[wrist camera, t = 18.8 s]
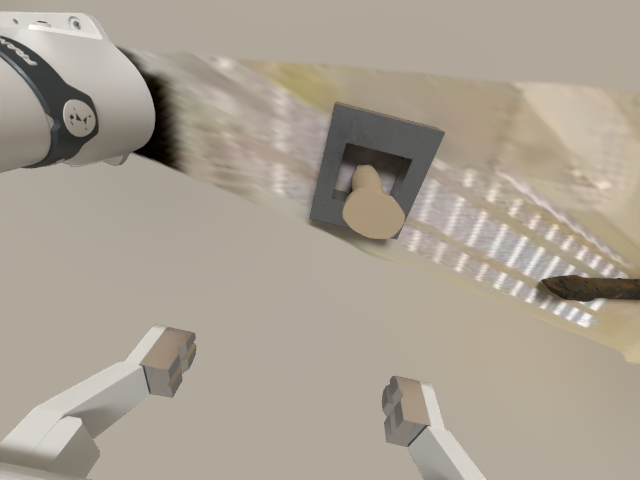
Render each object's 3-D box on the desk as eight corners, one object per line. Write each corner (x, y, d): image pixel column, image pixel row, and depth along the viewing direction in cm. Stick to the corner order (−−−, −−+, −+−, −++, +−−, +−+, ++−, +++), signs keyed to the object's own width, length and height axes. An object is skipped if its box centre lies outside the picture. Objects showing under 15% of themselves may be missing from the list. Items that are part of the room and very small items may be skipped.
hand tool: (663, 273, 45) (694, 291, 41) (647, 291, 47) (675, 310, 43) (546, 266, 46) (566, 283, 42) (536, 283, 48) (554, 301, 44)
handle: (373, 195, 41) (387, 246, 28) (337, 177, 40) (334, 222, 27) (391, 168, 39) (414, 210, 26) (353, 148, 38) (358, 182, 25)
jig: (312, 207, 43) (309, 218, 40) (336, 101, 35) (335, 103, 31) (392, 227, 44) (397, 239, 40) (435, 127, 36) (445, 132, 32)
